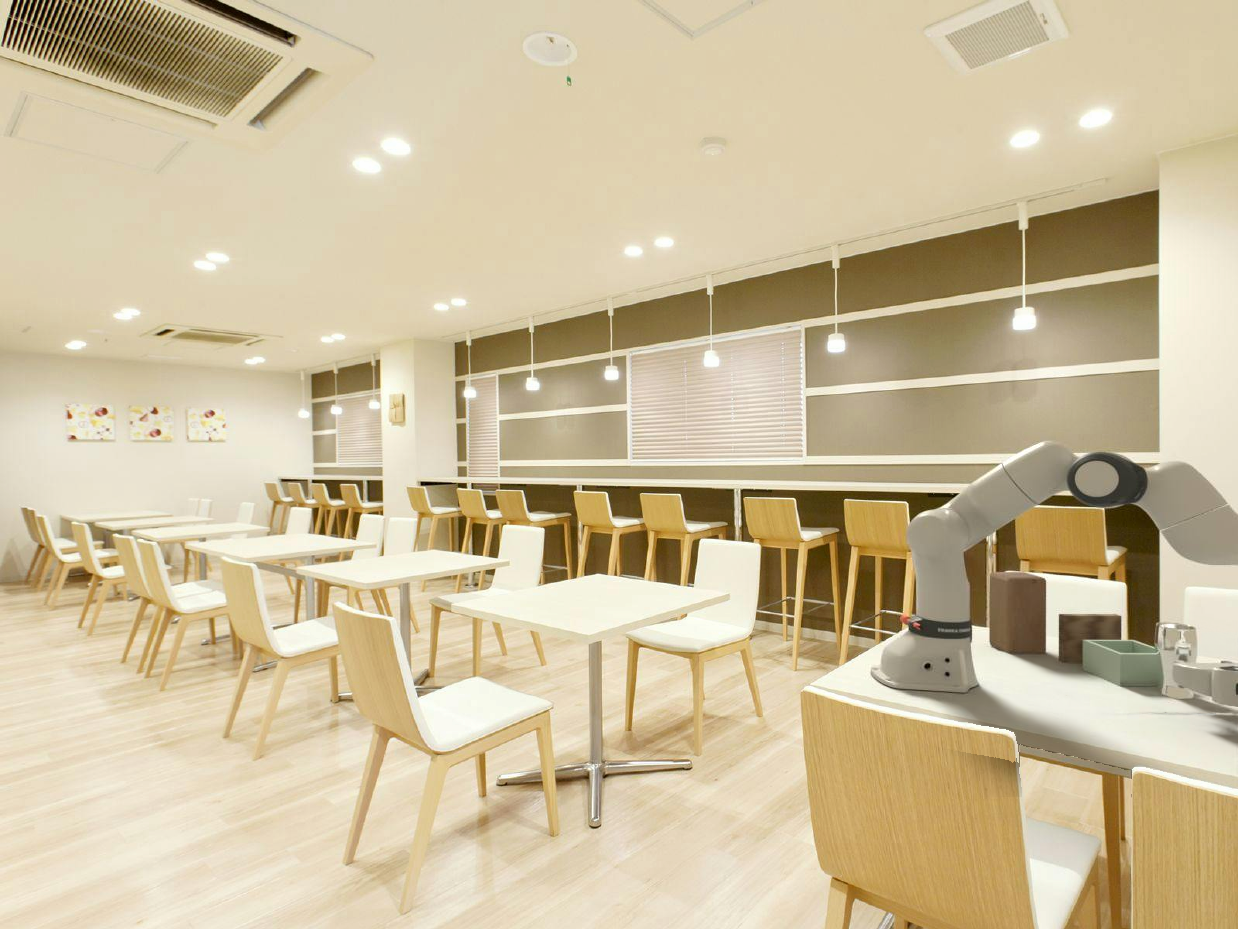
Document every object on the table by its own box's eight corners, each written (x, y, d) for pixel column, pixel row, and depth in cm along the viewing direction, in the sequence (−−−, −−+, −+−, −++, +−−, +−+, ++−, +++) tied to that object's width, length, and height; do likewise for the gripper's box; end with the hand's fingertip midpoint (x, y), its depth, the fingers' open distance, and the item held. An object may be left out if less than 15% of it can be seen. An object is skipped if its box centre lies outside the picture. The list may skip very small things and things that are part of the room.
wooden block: (1047, 655, 172) (1048, 577, 172) (1008, 655, 172) (1008, 577, 172) (1024, 645, 182) (1025, 571, 182) (987, 645, 182) (987, 571, 182)
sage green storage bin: (1120, 686, 147) (1120, 654, 147) (1082, 669, 159) (1082, 639, 159) (1175, 686, 147) (1175, 654, 147) (1133, 669, 159) (1133, 640, 159)
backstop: (1118, 690, 146) (1119, 635, 146) (1058, 662, 166) (1058, 614, 166) (1183, 690, 146) (1183, 635, 146) (1115, 662, 166) (1115, 614, 166)
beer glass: (1205, 703, 138) (1205, 630, 138) (1166, 701, 140) (1166, 629, 139) (1184, 692, 145) (1184, 622, 145) (1147, 690, 146) (1147, 621, 146)
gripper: (1323, 670, 122) (1252, 649, 136) (1210, 669, 122) (1150, 648, 136) (1323, 705, 122) (1252, 680, 136) (1210, 704, 122) (1150, 679, 136)
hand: (1200, 664), depth 136 cm, fingers open, 8 cm apart
